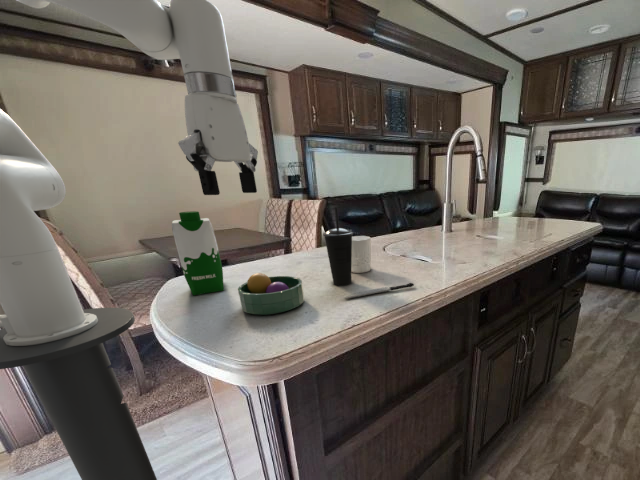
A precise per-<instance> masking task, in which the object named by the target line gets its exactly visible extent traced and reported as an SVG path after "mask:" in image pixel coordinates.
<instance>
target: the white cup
mask: <svg viewBox="0 0 640 480" xmlns="http://www.w3.org/2000/svg"><path fill="white" fill-rule="evenodd" d="M371 261H372V238H371V237H370V236H366V235H354V236H353V235H352V267H351V273H354V274H359V273H360V274H361V273H368V272H370V271H371V267H372V263H371Z"/></svg>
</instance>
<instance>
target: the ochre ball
mask: <svg viewBox="0 0 640 480" xmlns="http://www.w3.org/2000/svg"><path fill="white" fill-rule="evenodd" d="M269 277H270V276H268V275H267V274H265V273H262V272H257V273H253V274H252V275H250V276H249V277H248V279H247V281H246V282H247V286H248V289H249V290H250V292H252V293H253V294H264V293H266V289H267V287H268V286H269V285H270V284H271V280H270V278H269Z"/></svg>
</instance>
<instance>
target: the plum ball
mask: <svg viewBox="0 0 640 480" xmlns="http://www.w3.org/2000/svg"><path fill="white" fill-rule="evenodd" d="M287 289H289V288H288V286H287V285H286V284H284V283H282V282H274V283H271V284H270V285H269V286H268V287H267V289H266V293H273V292H279V291H283V290H287Z"/></svg>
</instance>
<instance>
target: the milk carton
mask: <svg viewBox="0 0 640 480" xmlns="http://www.w3.org/2000/svg"><path fill="white" fill-rule="evenodd" d="M178 214H179V218H180V219H175V220H172V222H171V230H172V235H173V238H174V244H175V247H176V251H177V254H178V258H179V262H180V266H181V269H182V273H183V276H184V278H185V281H186V283H187V285H188V288H189V290H190V292H191V294H192V296H193V297H194V296H198V295H199V296H200V295H205V294H210V293H217V292H222V291H225V286H224V270H223V264H222V259H221V255H220V251H219V245H218V242H217V238H216V235H215V230H214V229H215V228H214V227H213V224H212V222H211V220H210V218H209V217H205V218H201V215H200V212H199V211H195V210H193V211H181V212H180V211H179V212H178Z"/></svg>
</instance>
